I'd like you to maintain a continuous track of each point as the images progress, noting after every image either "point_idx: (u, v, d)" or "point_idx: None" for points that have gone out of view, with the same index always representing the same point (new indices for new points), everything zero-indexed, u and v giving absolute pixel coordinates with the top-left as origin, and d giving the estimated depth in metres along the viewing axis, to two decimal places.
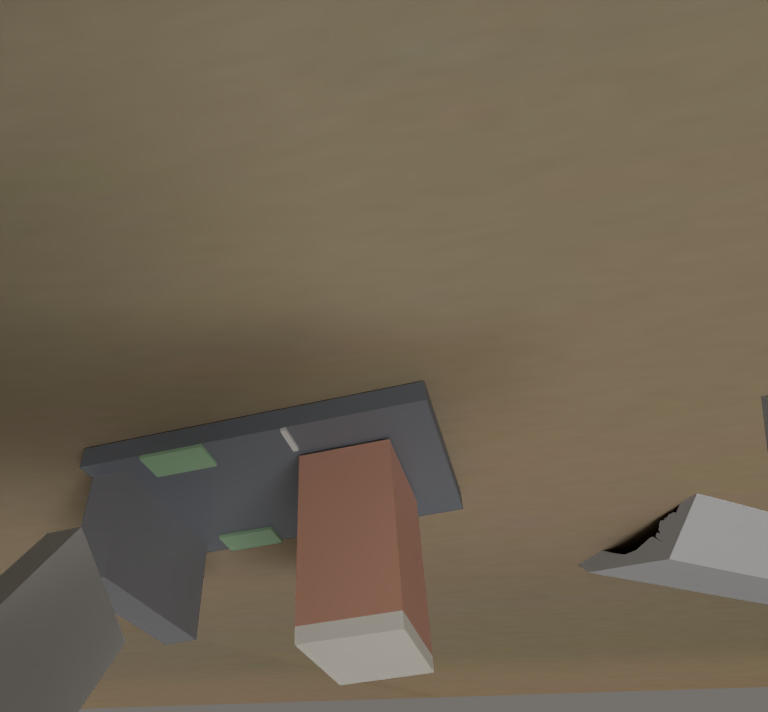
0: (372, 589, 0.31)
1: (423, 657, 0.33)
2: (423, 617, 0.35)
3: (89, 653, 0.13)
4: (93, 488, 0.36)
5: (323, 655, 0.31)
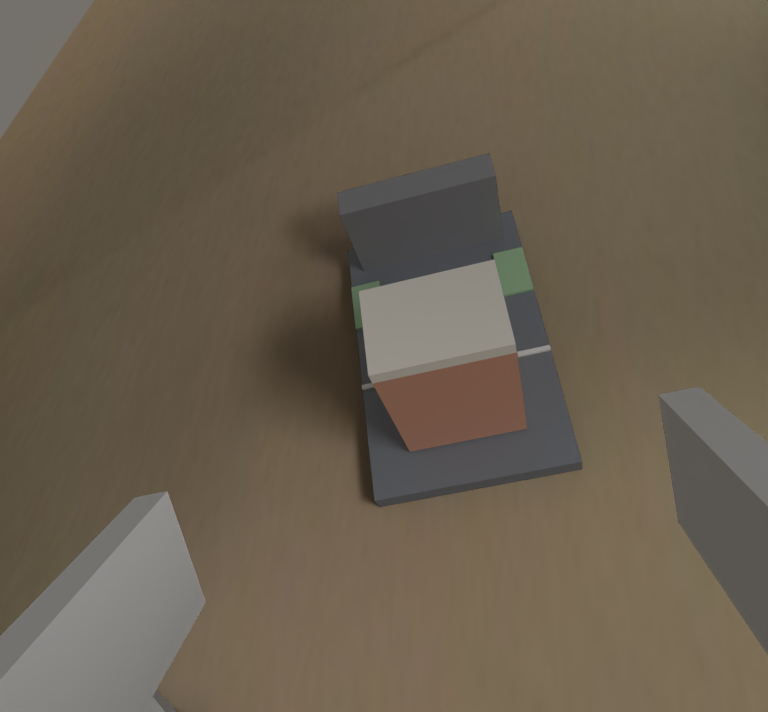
0: None
1: (422, 363, 0.32)
2: (412, 389, 0.34)
3: (178, 609, 0.14)
4: None
5: (457, 279, 0.33)
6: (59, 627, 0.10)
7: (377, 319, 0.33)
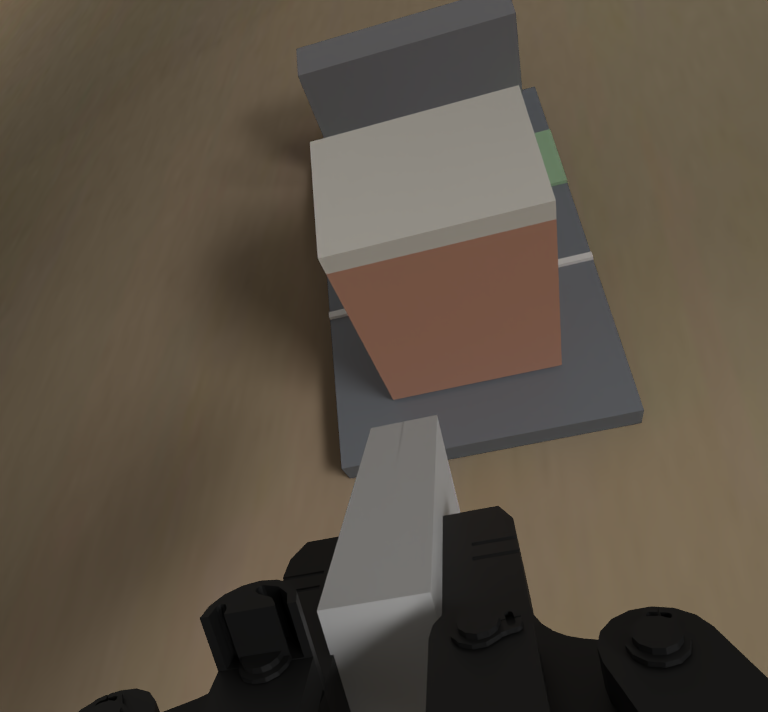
0: None
1: (403, 237, 0.20)
2: (390, 288, 0.22)
3: None
4: None
5: (460, 116, 0.21)
6: None
7: (336, 178, 0.21)
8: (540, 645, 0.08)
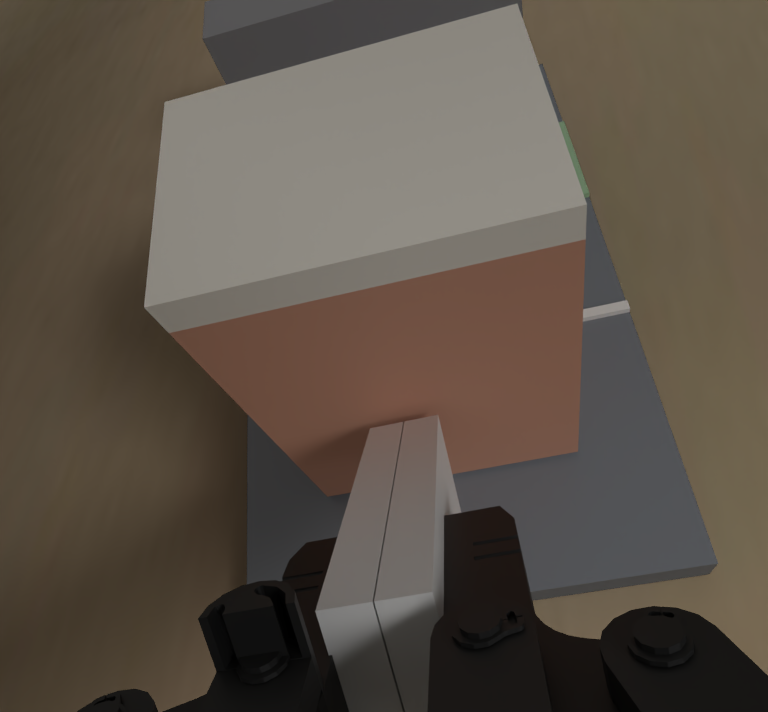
0: None
1: (299, 270, 0.10)
2: (291, 354, 0.12)
3: None
4: None
5: (415, 57, 0.12)
6: None
7: (197, 162, 0.12)
8: (542, 645, 0.08)
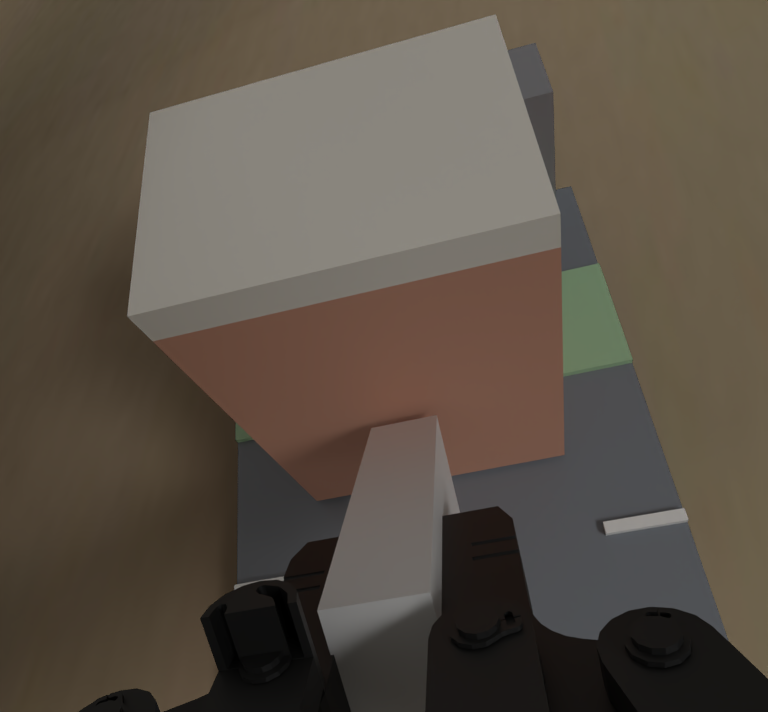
0: None
1: (279, 279, 0.11)
2: (274, 361, 0.13)
3: None
4: None
5: (395, 67, 0.12)
6: None
7: (180, 172, 0.12)
8: (540, 645, 0.08)
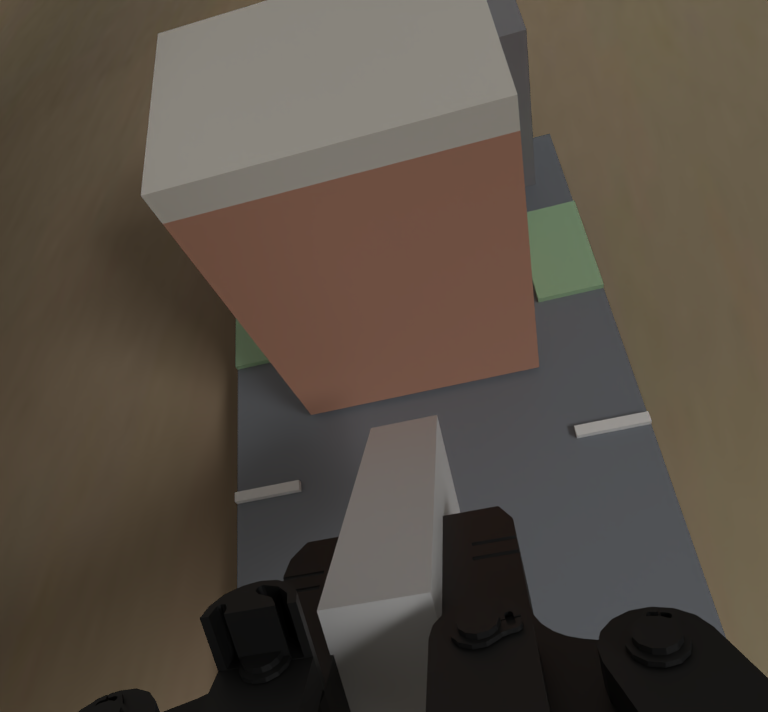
0: None
1: (274, 159, 0.12)
2: (270, 249, 0.14)
3: None
4: None
5: None
6: None
7: (186, 80, 0.14)
8: (540, 645, 0.08)
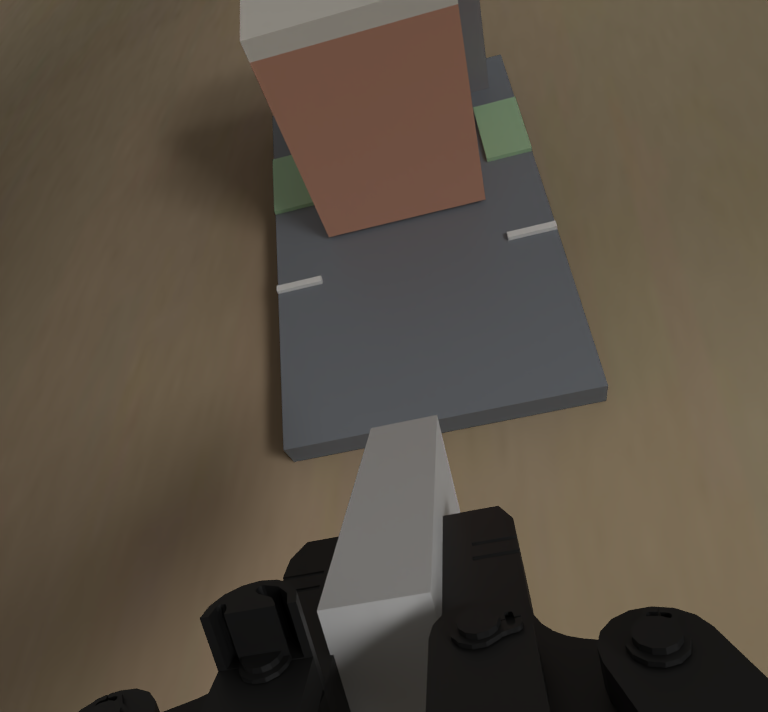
0: None
1: (318, 18, 0.21)
2: (311, 85, 0.23)
3: None
4: None
5: None
6: None
7: None
8: (540, 645, 0.08)
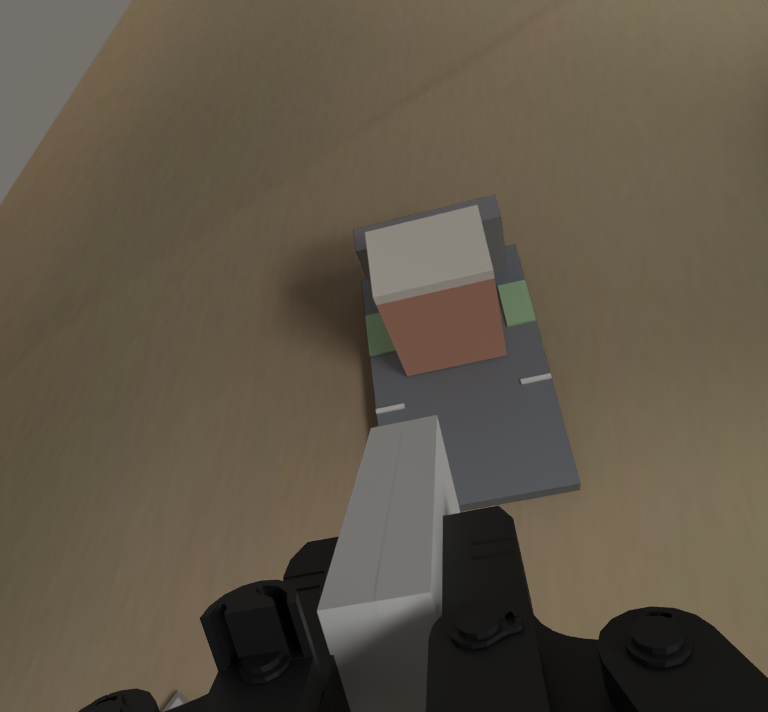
0: None
1: (417, 287, 0.39)
2: (408, 312, 0.41)
3: None
4: None
5: (446, 221, 0.40)
6: None
7: (380, 253, 0.40)
8: (540, 645, 0.08)
